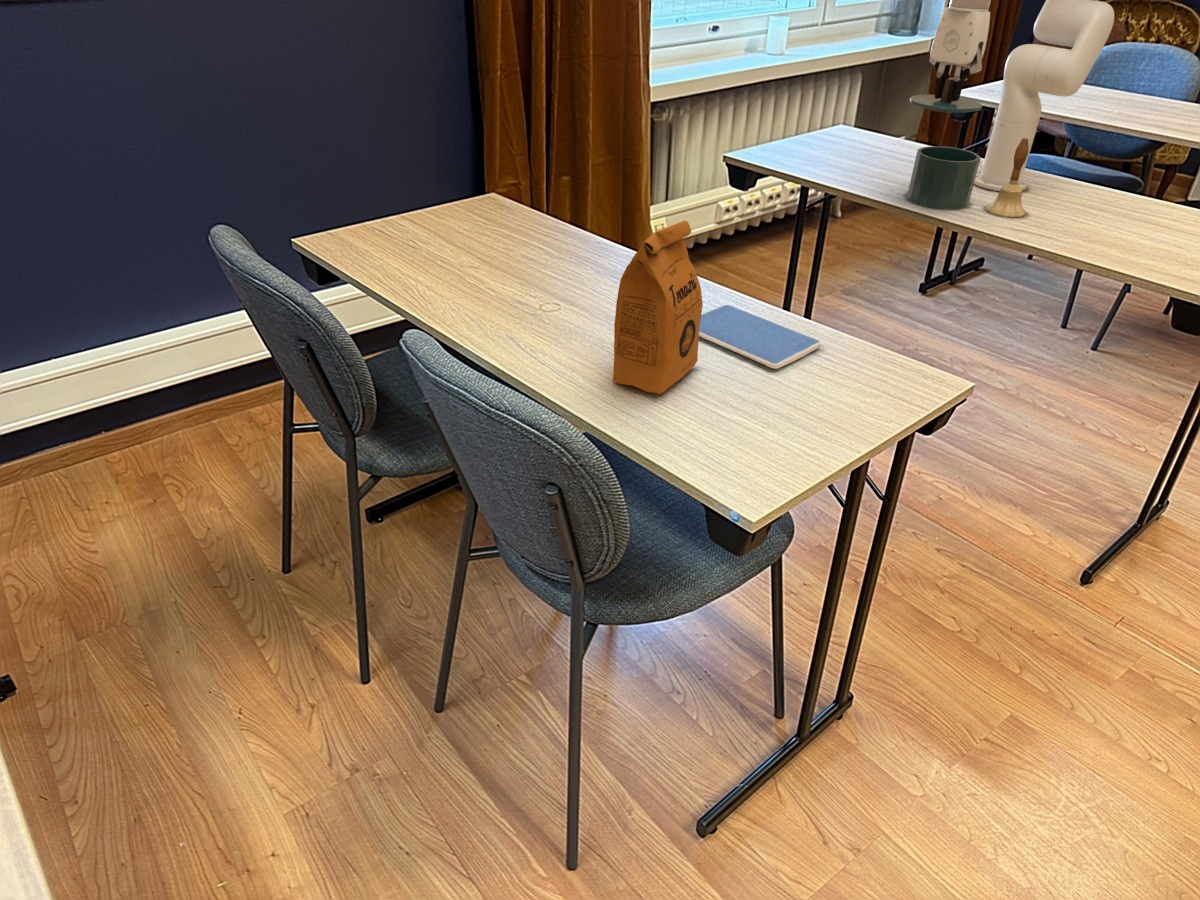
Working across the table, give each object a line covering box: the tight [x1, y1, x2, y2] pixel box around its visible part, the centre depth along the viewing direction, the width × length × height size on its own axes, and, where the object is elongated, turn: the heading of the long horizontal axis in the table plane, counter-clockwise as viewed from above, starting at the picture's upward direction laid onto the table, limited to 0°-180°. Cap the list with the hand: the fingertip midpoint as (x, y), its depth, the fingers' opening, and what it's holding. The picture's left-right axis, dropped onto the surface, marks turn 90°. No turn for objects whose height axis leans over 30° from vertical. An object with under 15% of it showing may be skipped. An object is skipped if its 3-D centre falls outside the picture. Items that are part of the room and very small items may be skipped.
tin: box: [906, 145, 981, 210], centre depth 198 cm, size 14×14×10 cm
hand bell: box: [985, 138, 1029, 218], centre depth 190 cm, size 8×8×16 cm
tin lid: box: [909, 77, 983, 114], centre depth 181 cm, size 15×15×6 cm
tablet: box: [699, 304, 822, 369], centre depth 135 cm, size 19×13×1 cm, turn 44°
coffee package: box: [612, 220, 704, 394], centre depth 119 cm, size 10×12×22 cm
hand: (946, 98), depth 182 cm, fingers closed on tin lid, 2 cm apart
